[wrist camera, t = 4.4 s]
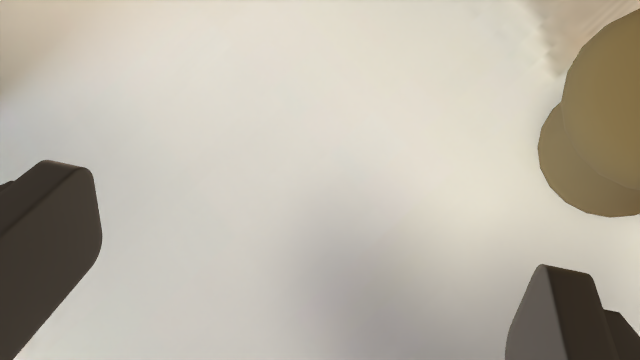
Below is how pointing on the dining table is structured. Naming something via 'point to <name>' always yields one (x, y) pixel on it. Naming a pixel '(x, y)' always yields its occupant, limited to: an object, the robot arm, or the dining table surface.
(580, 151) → the cork
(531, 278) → the robot arm
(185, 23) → the dining table surface
